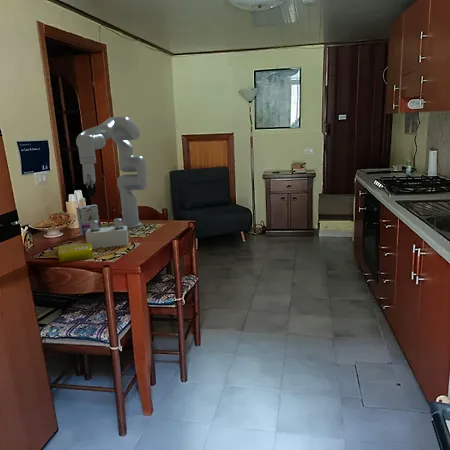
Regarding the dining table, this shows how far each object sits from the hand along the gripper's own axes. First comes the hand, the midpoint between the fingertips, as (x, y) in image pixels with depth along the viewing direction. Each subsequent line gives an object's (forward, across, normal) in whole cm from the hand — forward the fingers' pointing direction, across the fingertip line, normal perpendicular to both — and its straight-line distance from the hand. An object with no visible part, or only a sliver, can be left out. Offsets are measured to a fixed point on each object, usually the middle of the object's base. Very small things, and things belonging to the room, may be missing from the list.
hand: (92, 194), depth 207 cm
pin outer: (+20, 0, -1) cm, 20 cm away
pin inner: (+19, 0, +11) cm, 22 cm away
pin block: (+26, 0, +5) cm, 27 cm away
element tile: (+27, +14, -9) cm, 32 cm away
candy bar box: (+27, -28, -7) cm, 40 cm away
